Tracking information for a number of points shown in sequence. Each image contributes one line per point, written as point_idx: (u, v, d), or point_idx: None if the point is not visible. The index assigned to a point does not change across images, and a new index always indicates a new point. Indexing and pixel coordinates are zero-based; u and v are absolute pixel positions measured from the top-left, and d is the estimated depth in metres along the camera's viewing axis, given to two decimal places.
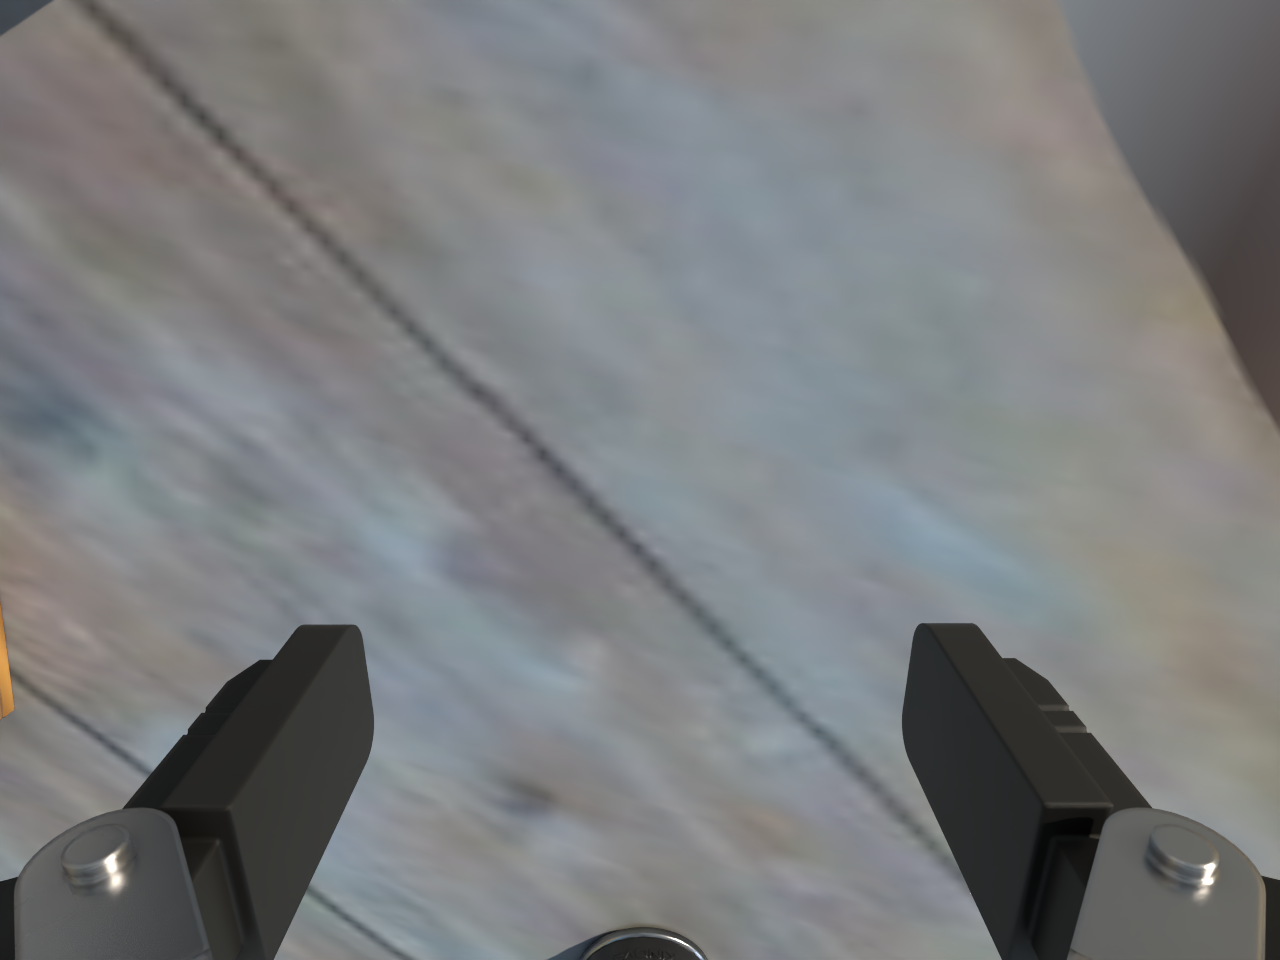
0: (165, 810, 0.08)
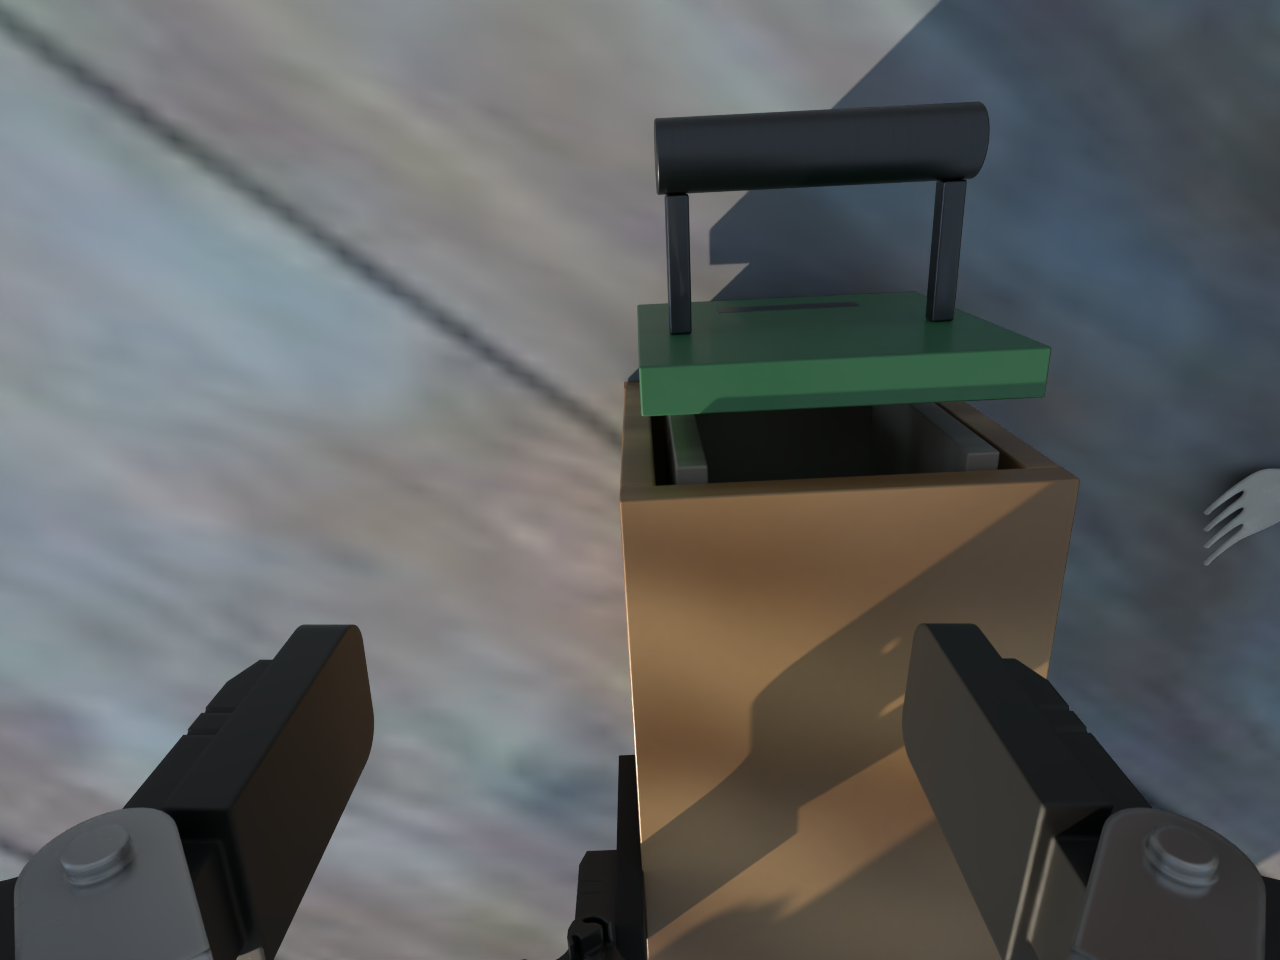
0: (165, 810, 0.08)
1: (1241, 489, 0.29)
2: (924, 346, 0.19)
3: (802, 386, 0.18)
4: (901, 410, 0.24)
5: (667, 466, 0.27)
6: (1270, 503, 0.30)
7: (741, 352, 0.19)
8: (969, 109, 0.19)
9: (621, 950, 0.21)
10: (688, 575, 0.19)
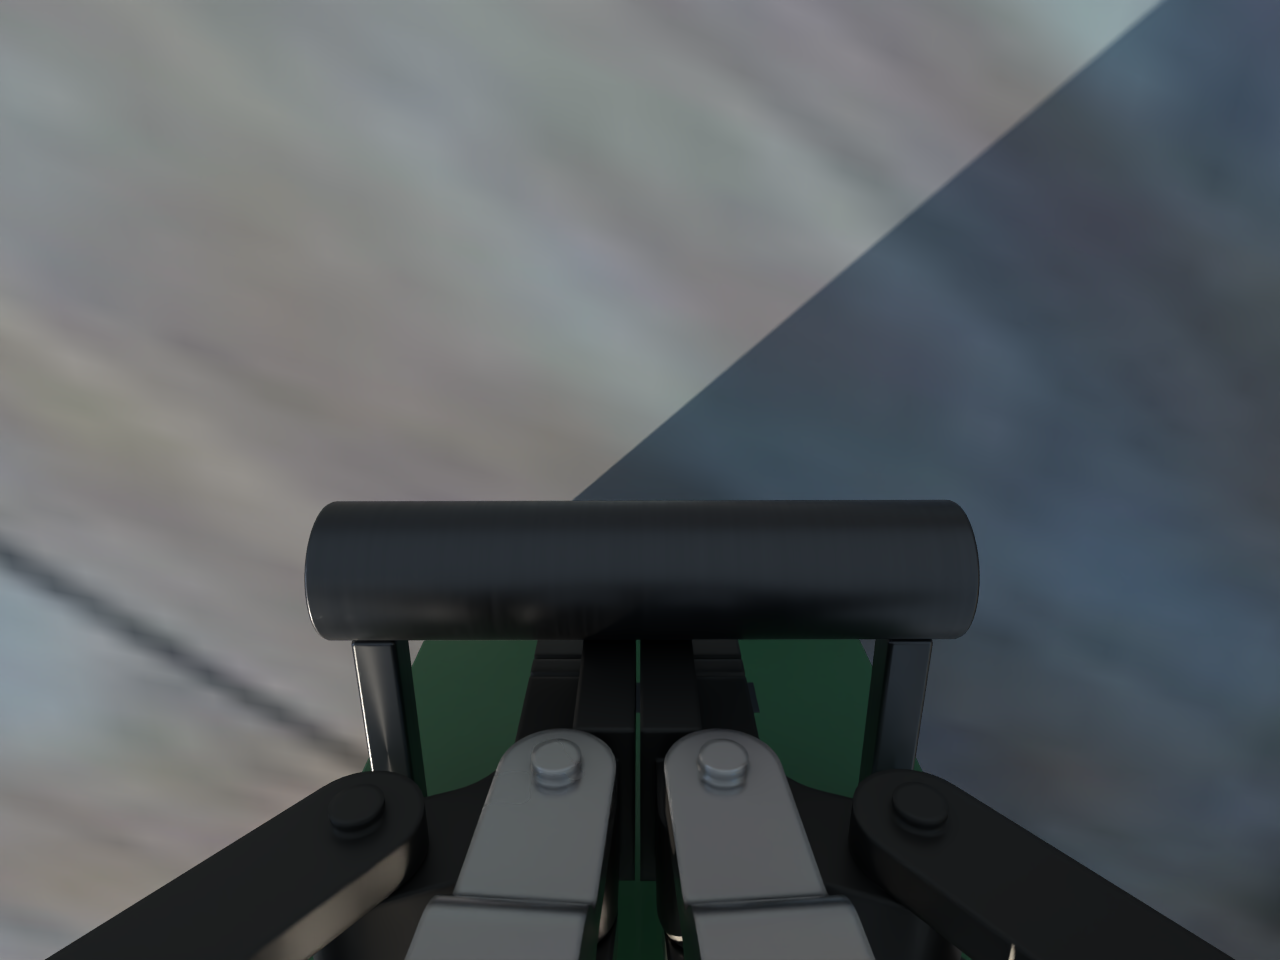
0: None
1: None
2: None
3: None
4: None
5: None
6: None
7: None
8: (941, 538, 0.09)
9: None
10: None
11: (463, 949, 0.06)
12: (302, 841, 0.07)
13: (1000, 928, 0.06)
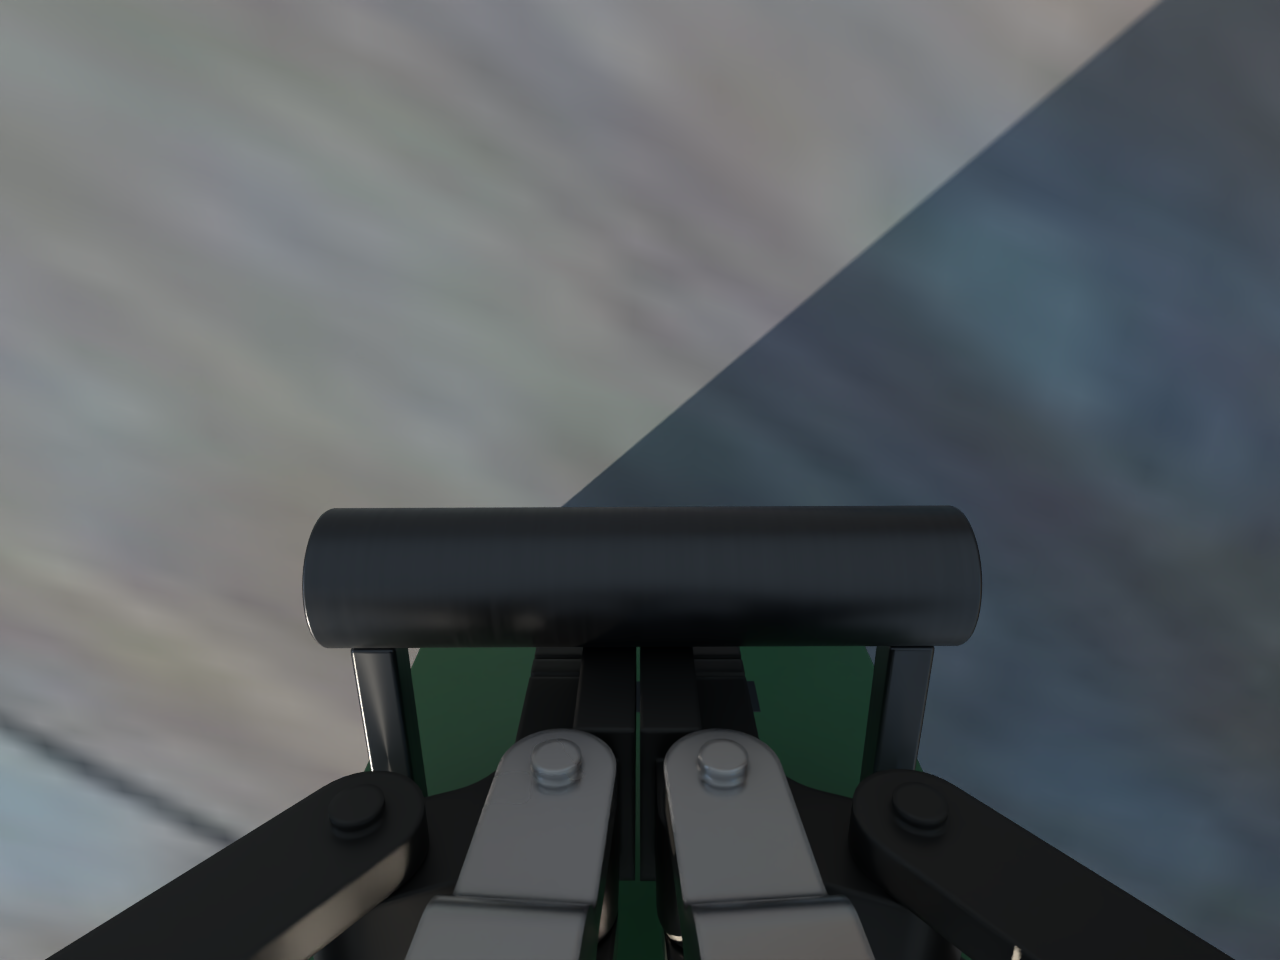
0: None
1: None
2: None
3: None
4: None
5: None
6: None
7: None
8: (943, 546, 0.09)
9: None
10: None
11: (463, 948, 0.06)
12: (303, 841, 0.07)
13: (1001, 930, 0.06)
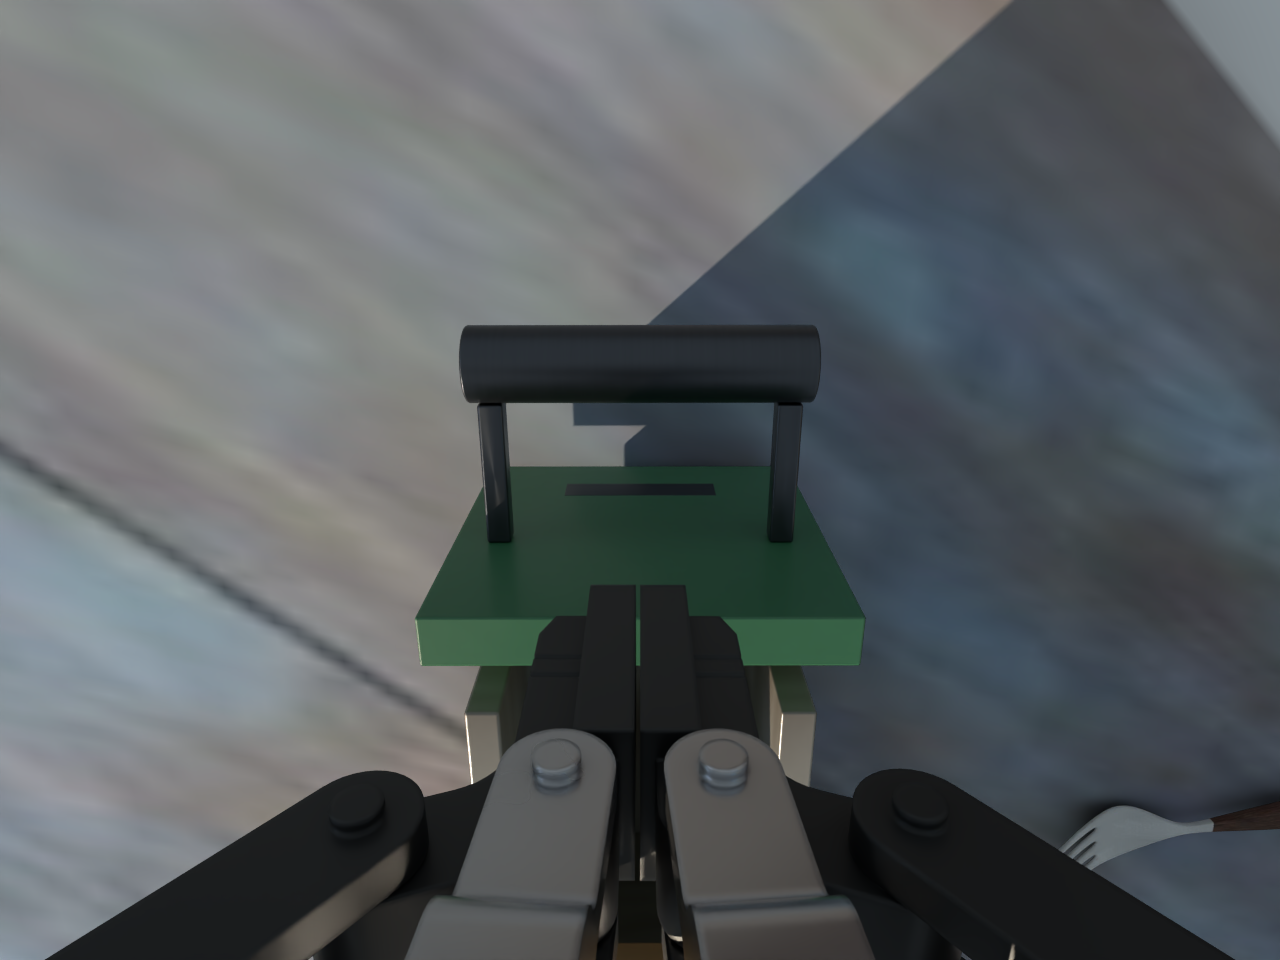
0: None
1: (1092, 828, 0.30)
2: (735, 600, 0.17)
3: None
4: None
5: None
6: (1122, 836, 0.31)
7: (538, 594, 0.17)
8: (801, 338, 0.18)
9: None
10: None
11: (463, 950, 0.06)
12: (303, 841, 0.07)
13: (1001, 929, 0.06)
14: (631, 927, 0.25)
